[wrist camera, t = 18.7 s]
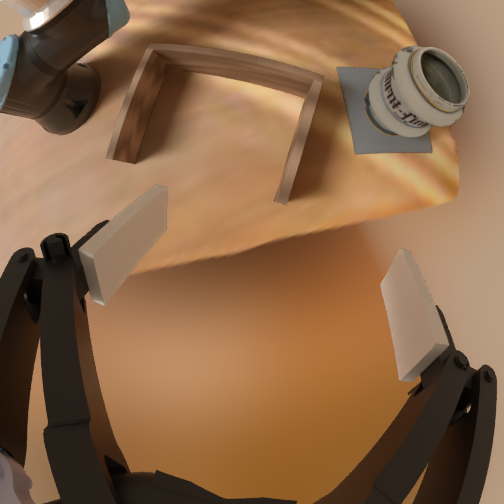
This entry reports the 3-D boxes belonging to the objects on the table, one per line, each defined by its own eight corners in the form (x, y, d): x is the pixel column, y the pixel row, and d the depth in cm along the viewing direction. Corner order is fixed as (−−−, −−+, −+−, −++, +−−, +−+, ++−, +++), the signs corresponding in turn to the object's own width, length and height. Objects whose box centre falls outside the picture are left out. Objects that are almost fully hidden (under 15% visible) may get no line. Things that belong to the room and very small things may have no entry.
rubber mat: (336, 68, 37) (337, 66, 37) (412, 74, 36) (413, 73, 36) (355, 154, 40) (356, 153, 40) (430, 152, 39) (432, 152, 39)
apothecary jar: (351, 75, 37) (395, 24, 19) (409, 83, 36) (465, 48, 19) (362, 141, 39) (420, 114, 22) (421, 144, 39) (488, 129, 21)
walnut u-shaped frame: (281, 203, 42) (286, 205, 34) (129, 162, 41) (105, 158, 33) (313, 94, 38) (324, 75, 31) (164, 63, 37) (149, 43, 30)
